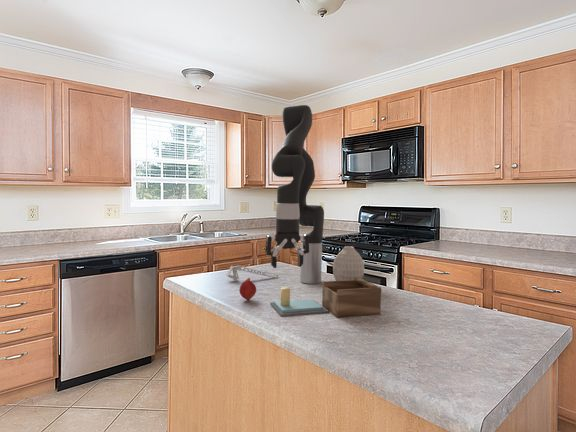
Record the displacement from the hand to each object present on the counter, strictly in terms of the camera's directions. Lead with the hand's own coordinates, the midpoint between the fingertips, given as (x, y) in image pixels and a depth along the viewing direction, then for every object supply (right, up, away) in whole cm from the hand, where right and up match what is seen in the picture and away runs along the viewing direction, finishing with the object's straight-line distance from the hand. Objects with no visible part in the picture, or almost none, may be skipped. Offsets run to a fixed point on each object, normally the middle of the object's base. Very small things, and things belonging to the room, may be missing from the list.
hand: (287, 266), depth 120 cm
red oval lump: (-14, -13, +10) cm, 22 cm away
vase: (+25, -13, +33) cm, 43 cm away
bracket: (-15, -12, +43) cm, 47 cm away
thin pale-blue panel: (+4, -13, +2) cm, 14 cm away
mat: (+4, -14, +2) cm, 15 cm away
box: (+21, -14, +1) cm, 25 cm away
